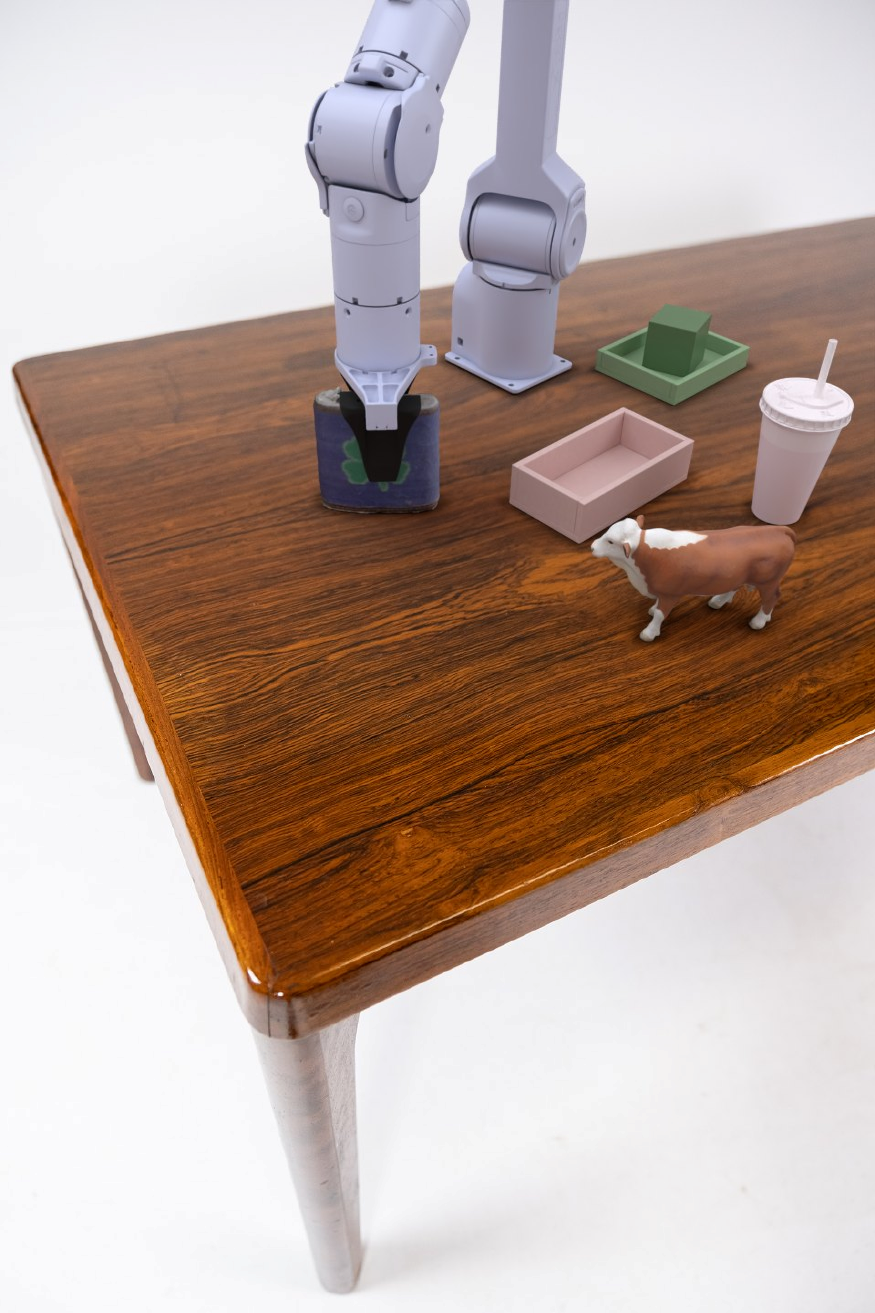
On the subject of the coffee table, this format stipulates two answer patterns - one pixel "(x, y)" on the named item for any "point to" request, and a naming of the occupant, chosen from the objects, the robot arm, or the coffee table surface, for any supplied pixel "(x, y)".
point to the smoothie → (796, 441)
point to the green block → (676, 340)
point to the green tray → (627, 367)
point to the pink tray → (600, 473)
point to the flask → (345, 468)
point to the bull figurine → (699, 564)
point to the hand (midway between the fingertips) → (382, 466)
